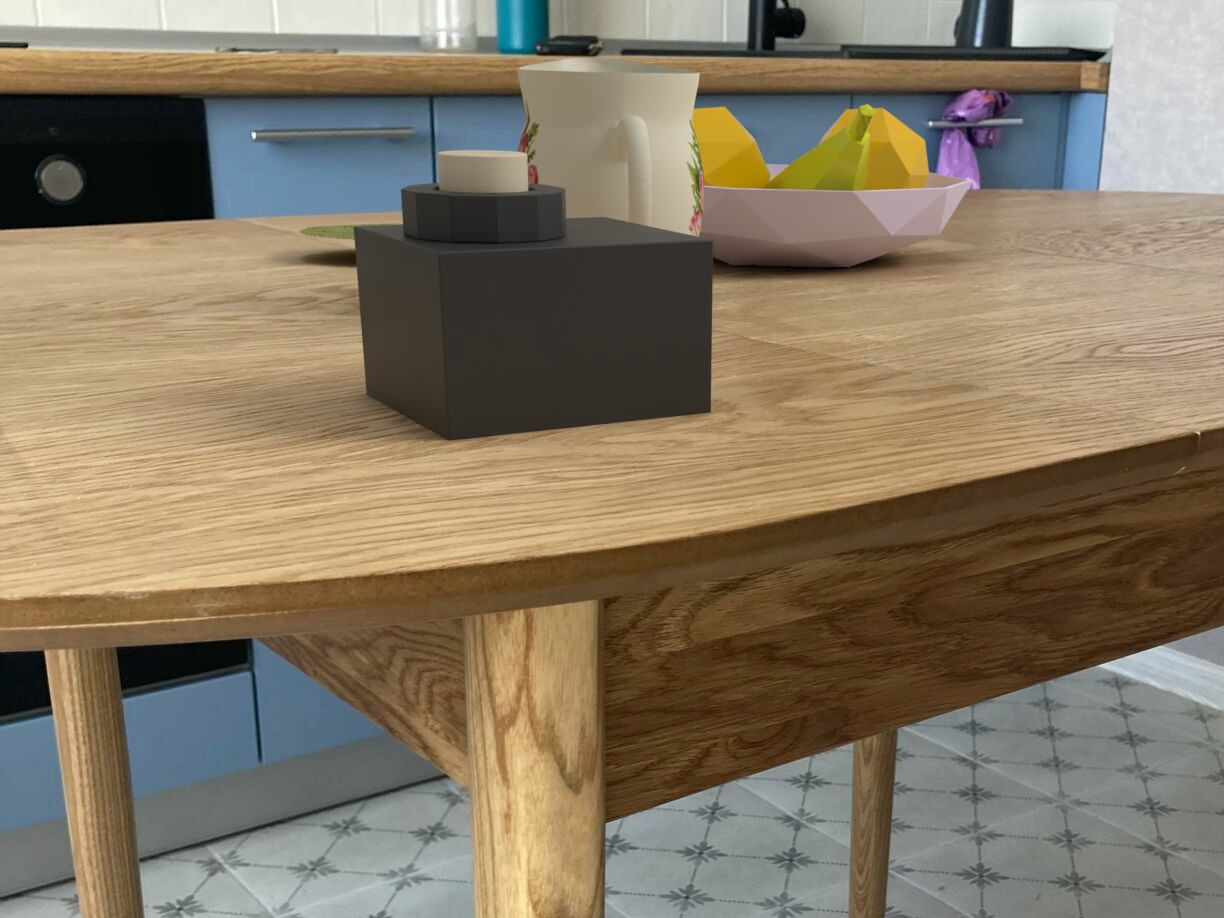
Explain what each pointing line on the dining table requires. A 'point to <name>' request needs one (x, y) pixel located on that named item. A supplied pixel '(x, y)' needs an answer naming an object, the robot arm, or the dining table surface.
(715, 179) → the fruit bowl
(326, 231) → the mat
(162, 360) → the dining table surface
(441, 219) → the base
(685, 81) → the pitcher
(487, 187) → the lid button
